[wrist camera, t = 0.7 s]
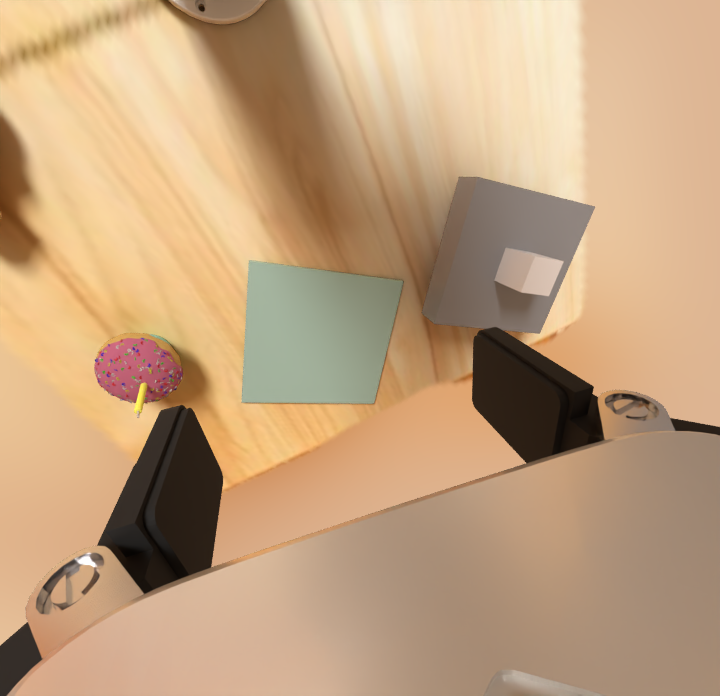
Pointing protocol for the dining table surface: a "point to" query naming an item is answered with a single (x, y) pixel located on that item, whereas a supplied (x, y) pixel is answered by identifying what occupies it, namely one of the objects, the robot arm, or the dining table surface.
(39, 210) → the dining table surface
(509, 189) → the cover
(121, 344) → the cupcake
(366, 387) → the mat
